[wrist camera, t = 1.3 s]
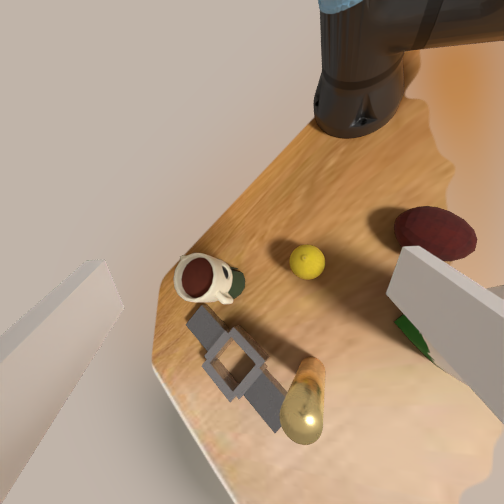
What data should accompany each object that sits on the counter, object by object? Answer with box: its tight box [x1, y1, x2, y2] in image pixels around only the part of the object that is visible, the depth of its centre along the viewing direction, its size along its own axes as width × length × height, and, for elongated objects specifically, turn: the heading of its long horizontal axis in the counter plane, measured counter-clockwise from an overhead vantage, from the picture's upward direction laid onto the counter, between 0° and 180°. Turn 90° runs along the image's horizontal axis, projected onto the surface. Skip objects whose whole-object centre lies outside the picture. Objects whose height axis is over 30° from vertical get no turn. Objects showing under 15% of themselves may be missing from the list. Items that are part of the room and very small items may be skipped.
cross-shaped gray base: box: [186, 305, 288, 433], centre depth 38 cm, size 9×23×3 cm, turn 48°
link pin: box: [280, 357, 325, 445], centre depth 28 cm, size 4×4×16 cm
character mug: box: [174, 253, 245, 304], centre depth 37 cm, size 11×7×13 cm, turn 48°
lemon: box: [289, 245, 325, 280], centre depth 35 cm, size 6×6×8 cm
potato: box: [394, 206, 477, 261], centre depth 32 cm, size 7×10×6 cm
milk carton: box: [394, 285, 504, 385], centre depth 23 cm, size 9×9×20 cm
